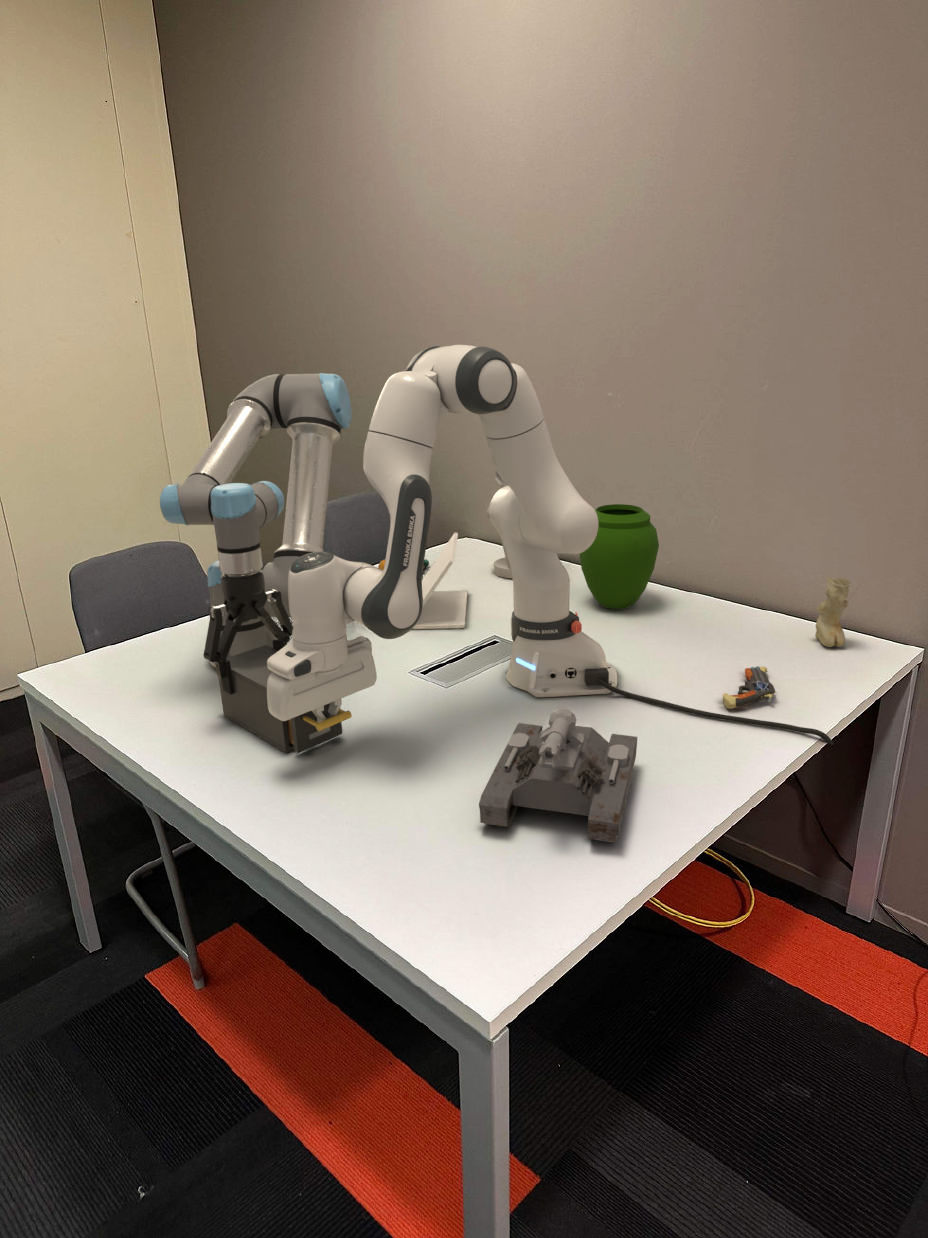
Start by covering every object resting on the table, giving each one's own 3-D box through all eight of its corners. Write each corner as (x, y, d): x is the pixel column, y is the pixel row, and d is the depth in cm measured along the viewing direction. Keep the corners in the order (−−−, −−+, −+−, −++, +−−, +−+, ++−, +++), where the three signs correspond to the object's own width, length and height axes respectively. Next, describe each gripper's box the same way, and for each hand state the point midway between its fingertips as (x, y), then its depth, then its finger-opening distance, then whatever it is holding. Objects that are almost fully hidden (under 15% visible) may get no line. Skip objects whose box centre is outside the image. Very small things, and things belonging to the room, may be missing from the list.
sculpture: (821, 649, 184) (830, 583, 179) (808, 637, 191) (816, 573, 185) (848, 649, 184) (858, 582, 179) (834, 636, 191) (843, 572, 185)
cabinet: (335, 731, 156) (330, 675, 152) (285, 753, 149) (279, 694, 145) (272, 697, 170) (265, 644, 166) (223, 715, 163) (216, 661, 159)
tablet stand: (467, 593, 225) (465, 531, 219) (465, 628, 202) (462, 559, 196) (399, 594, 226) (395, 532, 220) (388, 629, 203) (384, 560, 197)
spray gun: (398, 563, 255) (442, 570, 249) (369, 576, 241) (416, 584, 235) (398, 549, 254) (443, 556, 248) (369, 561, 239) (416, 569, 233)
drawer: (361, 743, 149) (357, 694, 146) (316, 764, 143) (311, 713, 140) (280, 700, 166) (275, 655, 163) (237, 717, 160) (231, 671, 157)
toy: (518, 748, 148) (518, 669, 142) (636, 762, 142) (640, 680, 137) (479, 832, 125) (476, 741, 120) (616, 853, 119) (620, 758, 114)
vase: (599, 587, 227) (601, 497, 218) (668, 600, 216) (673, 505, 208) (562, 608, 212) (564, 513, 204) (634, 623, 202) (639, 523, 193)
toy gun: (724, 699, 158) (781, 696, 155) (715, 664, 175) (766, 661, 173) (725, 713, 158) (782, 710, 156) (716, 677, 176) (766, 674, 174)
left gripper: (284, 553, 164) (296, 658, 171) (171, 582, 149) (189, 696, 156) (307, 560, 159) (317, 668, 166) (192, 591, 143) (210, 708, 151)
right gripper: (358, 628, 150) (364, 699, 155) (257, 663, 137) (267, 739, 142) (381, 637, 146) (386, 709, 151) (279, 674, 133) (288, 752, 138)
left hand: (255, 682), depth 161 cm, fingers closed on cabinet, 11 cm apart
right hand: (327, 724), depth 146 cm, fingers closed
